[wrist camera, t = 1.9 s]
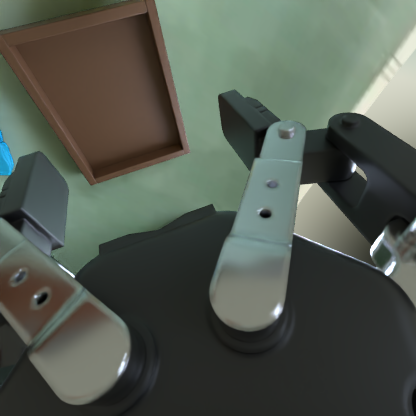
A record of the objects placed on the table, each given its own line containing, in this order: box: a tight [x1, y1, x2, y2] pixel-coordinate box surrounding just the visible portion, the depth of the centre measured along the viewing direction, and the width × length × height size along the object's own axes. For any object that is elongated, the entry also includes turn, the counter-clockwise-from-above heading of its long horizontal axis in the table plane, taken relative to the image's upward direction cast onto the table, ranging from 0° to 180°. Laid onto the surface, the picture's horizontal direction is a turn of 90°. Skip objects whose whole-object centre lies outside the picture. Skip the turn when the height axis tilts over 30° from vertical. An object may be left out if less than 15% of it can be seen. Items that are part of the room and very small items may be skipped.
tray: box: [0, 0, 190, 185], centre depth 26 cm, size 13×16×3 cm
